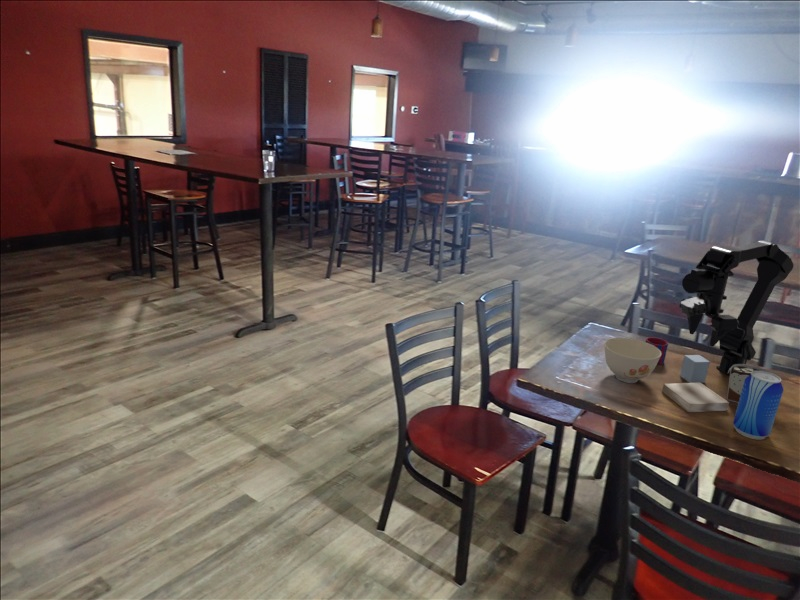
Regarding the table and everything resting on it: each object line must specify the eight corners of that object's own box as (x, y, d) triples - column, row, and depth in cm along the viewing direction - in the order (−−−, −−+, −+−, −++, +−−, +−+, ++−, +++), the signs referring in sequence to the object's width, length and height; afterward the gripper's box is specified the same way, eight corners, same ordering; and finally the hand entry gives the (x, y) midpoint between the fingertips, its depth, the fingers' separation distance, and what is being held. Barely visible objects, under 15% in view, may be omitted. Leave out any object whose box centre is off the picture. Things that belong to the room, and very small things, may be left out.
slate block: (694, 375, 181) (699, 354, 179) (704, 382, 177) (710, 361, 174) (679, 375, 180) (684, 355, 178) (690, 383, 176) (695, 362, 174)
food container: (770, 402, 167) (779, 370, 163) (770, 411, 161) (779, 378, 158) (721, 390, 172) (730, 359, 169) (720, 398, 167) (729, 366, 164)
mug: (638, 359, 190) (642, 340, 188) (649, 351, 198) (653, 333, 195) (659, 366, 186) (664, 347, 184) (670, 358, 193) (674, 339, 191)
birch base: (698, 390, 171) (700, 382, 171) (727, 410, 160) (729, 402, 160) (662, 391, 169) (663, 383, 168) (688, 412, 158) (690, 404, 157)
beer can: (759, 444, 144) (776, 386, 139) (725, 429, 151) (740, 373, 145) (774, 435, 149) (791, 379, 144) (741, 420, 155) (756, 366, 150)
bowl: (599, 384, 171) (605, 353, 168) (598, 363, 186) (603, 334, 183) (657, 394, 167) (664, 363, 164) (652, 372, 182) (658, 342, 178)
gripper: (669, 281, 177) (658, 328, 182) (710, 301, 159) (698, 353, 164) (701, 281, 179) (690, 328, 184) (746, 300, 161) (732, 352, 166)
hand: (701, 339), depth 174 cm, fingers open, 9 cm apart
